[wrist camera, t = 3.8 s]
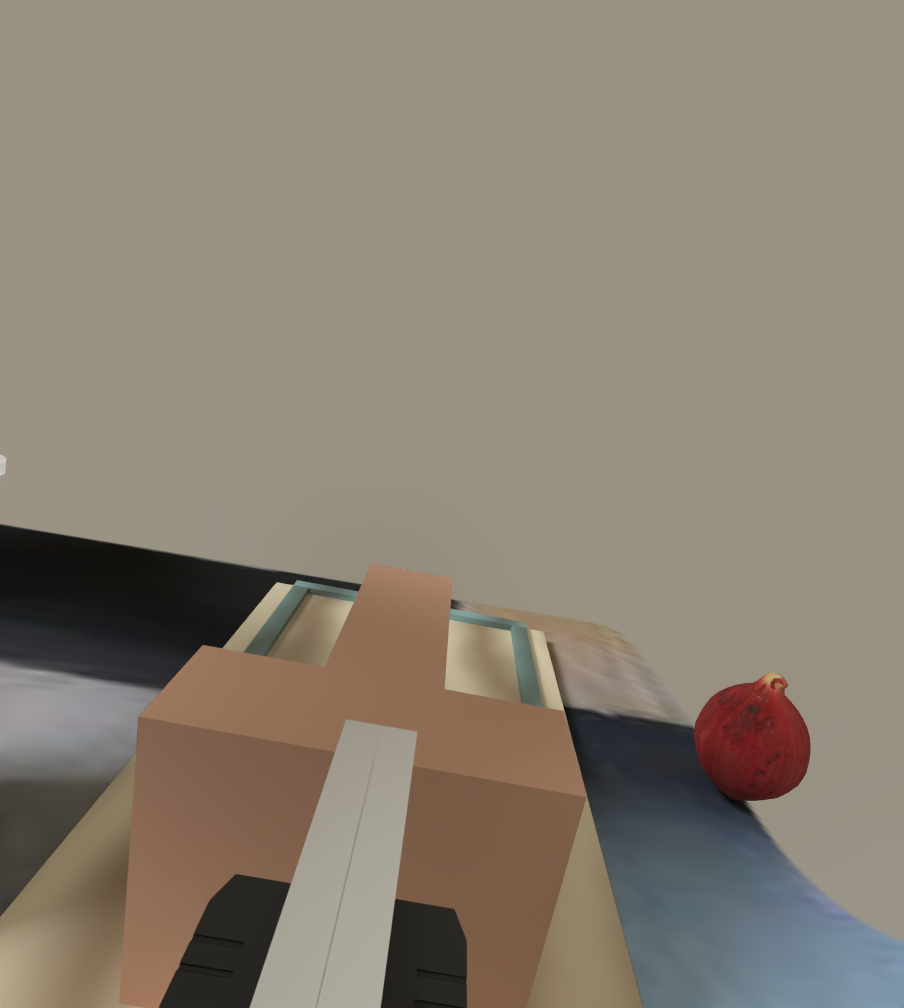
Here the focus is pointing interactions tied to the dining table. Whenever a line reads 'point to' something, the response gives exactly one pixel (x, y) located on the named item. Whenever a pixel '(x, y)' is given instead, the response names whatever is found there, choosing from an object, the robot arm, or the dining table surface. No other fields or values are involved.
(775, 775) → the red pomegranate
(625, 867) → the dining table surface
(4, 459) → the beverage cup
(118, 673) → the dining table surface
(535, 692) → the board
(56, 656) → the dining table surface
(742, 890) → the dining table surface
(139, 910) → the tee
